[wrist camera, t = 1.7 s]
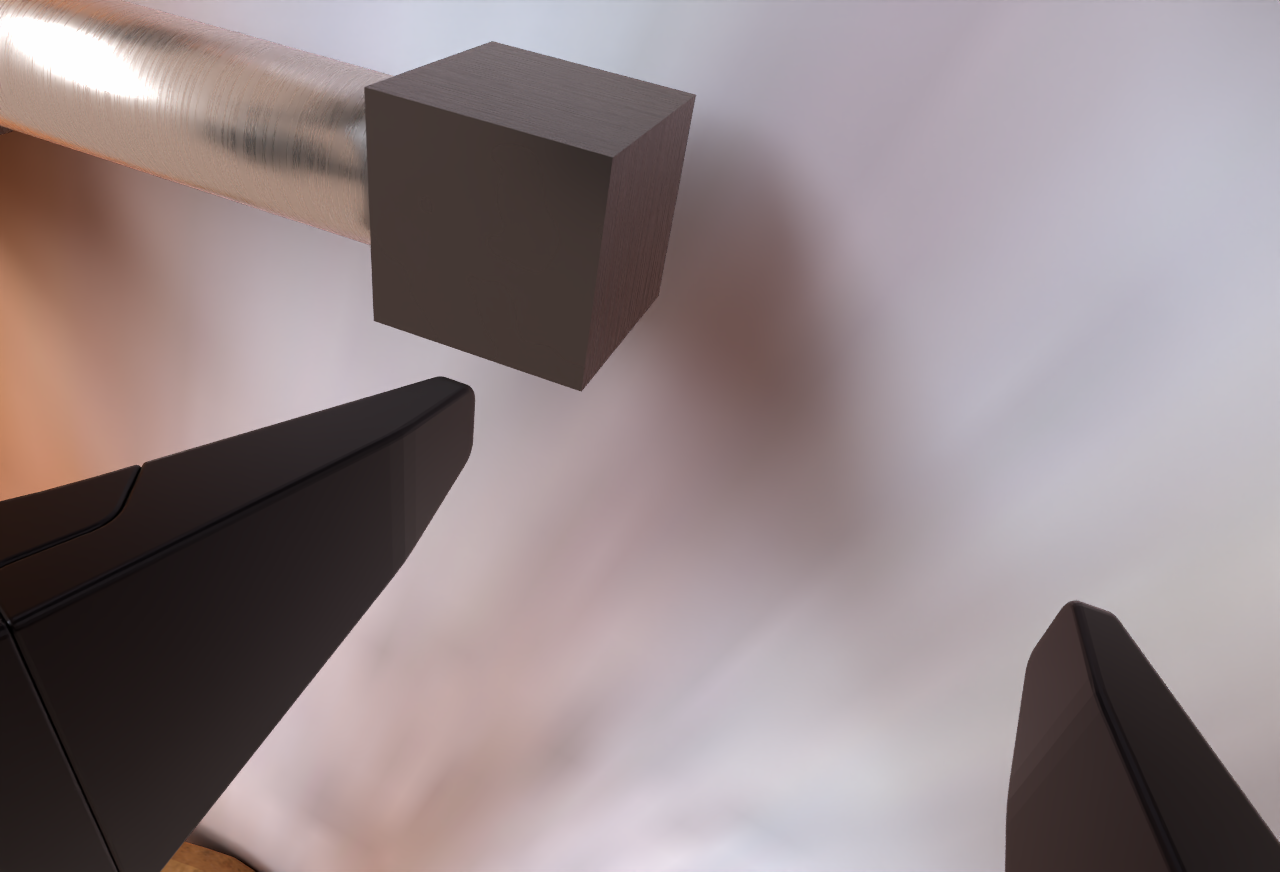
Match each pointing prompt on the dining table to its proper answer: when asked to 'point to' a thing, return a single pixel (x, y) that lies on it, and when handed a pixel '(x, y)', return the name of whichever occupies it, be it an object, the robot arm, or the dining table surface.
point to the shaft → (388, 165)
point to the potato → (203, 861)
